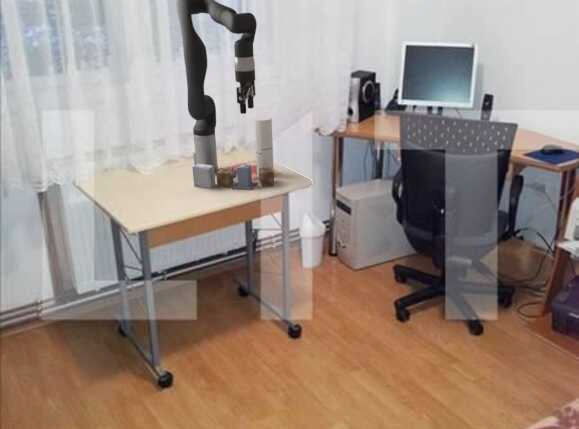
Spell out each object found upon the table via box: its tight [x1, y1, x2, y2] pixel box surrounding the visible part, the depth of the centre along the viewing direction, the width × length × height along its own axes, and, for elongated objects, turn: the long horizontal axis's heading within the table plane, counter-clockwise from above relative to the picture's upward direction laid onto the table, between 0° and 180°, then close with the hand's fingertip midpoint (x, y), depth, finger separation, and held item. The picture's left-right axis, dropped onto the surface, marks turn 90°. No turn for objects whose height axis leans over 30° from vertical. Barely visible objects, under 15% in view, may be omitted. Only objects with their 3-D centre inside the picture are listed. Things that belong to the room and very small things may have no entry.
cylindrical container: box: [253, 115, 275, 178], centre depth 270 cm, size 7×7×25 cm
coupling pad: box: [232, 181, 258, 191], centre depth 264 cm, size 8×8×1 cm
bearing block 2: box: [258, 167, 275, 188], centre depth 264 cm, size 6×6×6 cm
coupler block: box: [236, 163, 253, 187], centre depth 262 cm, size 4×4×8 cm
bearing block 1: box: [215, 167, 237, 188], centre depth 264 cm, size 7×6×6 cm
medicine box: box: [191, 164, 217, 189], centre depth 264 cm, size 8×4×9 cm, turn 65°
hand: (247, 110), depth 248 cm, fingers open, 8 cm apart
